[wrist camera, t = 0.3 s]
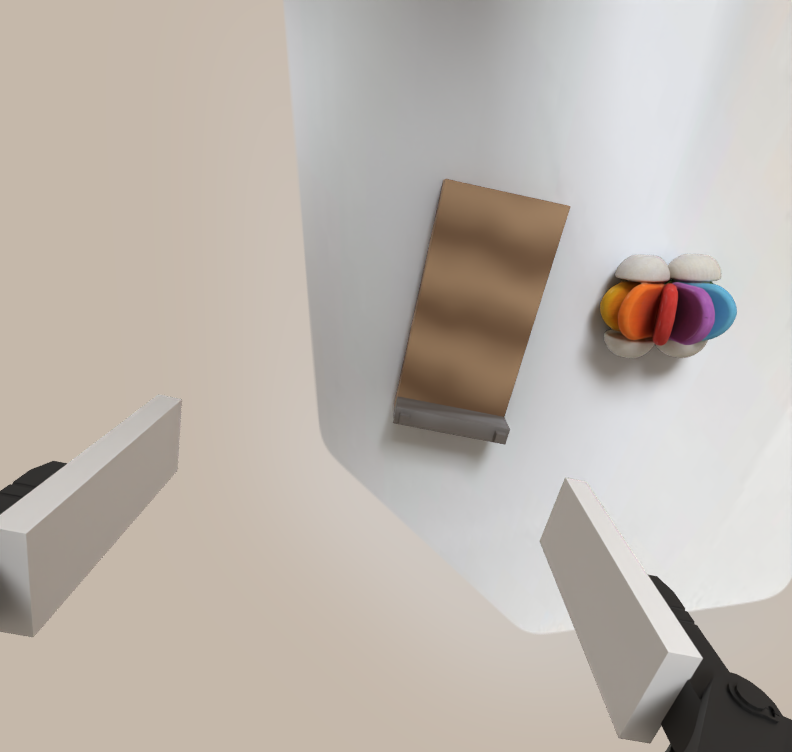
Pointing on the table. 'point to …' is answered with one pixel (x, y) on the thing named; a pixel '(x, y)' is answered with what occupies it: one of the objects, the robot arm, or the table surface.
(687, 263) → the rainbow wooden ball puzzle
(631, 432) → the table surface
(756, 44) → the table surface
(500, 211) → the wooden display stand
